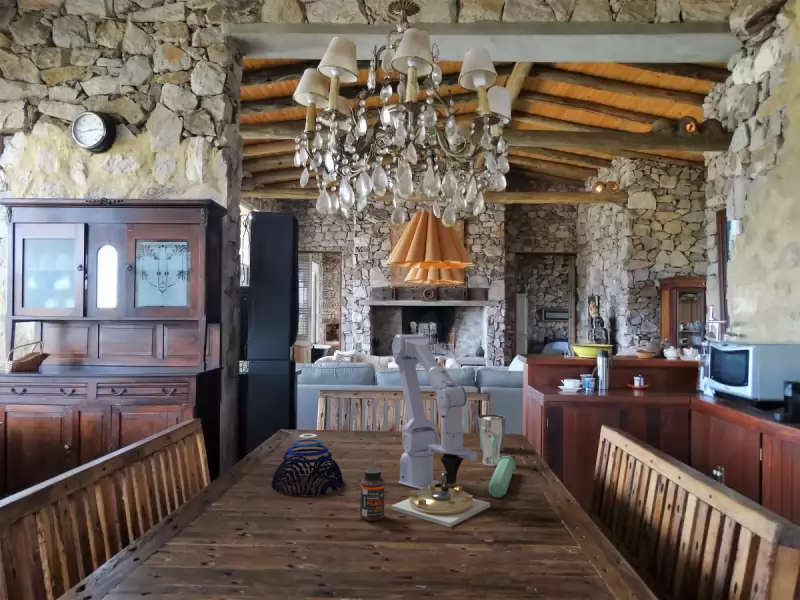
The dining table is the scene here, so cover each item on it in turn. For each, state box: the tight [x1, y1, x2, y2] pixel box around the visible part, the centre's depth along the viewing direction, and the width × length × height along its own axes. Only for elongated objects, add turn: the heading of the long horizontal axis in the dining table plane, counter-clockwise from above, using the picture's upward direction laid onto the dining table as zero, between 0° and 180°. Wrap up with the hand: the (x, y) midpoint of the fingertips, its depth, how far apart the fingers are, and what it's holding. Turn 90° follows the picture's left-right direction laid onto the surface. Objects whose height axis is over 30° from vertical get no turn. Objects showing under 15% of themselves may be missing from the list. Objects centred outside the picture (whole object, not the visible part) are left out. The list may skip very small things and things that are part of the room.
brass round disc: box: [409, 471, 474, 515], centre depth 139 cm, size 16×16×6 cm
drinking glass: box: [477, 413, 507, 452], centre depth 200 cm, size 10×10×12 cm
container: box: [488, 455, 517, 498], centre depth 158 cm, size 6×6×25 cm
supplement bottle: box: [359, 468, 386, 522], centre depth 132 cm, size 6×6×11 cm
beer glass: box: [481, 416, 502, 467], centre depth 181 cm, size 7×7×15 cm
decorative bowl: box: [271, 433, 344, 496], centre depth 158 cm, size 20×20×14 cm
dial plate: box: [391, 497, 491, 528], centre depth 139 cm, size 18×18×1 cm
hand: (452, 483), depth 144 cm, fingers closed
